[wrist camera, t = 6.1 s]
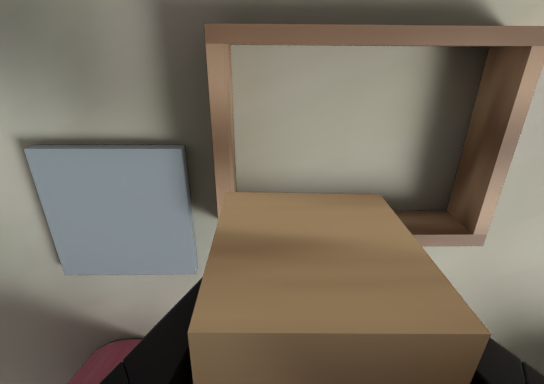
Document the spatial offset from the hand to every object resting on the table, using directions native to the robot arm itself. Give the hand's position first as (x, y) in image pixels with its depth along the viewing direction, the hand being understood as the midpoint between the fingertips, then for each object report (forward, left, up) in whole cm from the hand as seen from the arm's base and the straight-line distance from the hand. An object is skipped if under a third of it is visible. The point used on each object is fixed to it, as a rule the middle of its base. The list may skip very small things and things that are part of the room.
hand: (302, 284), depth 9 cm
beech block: (0, 0, -1) cm, 1 cm away
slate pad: (-4, +10, -12) cm, 16 cm away
